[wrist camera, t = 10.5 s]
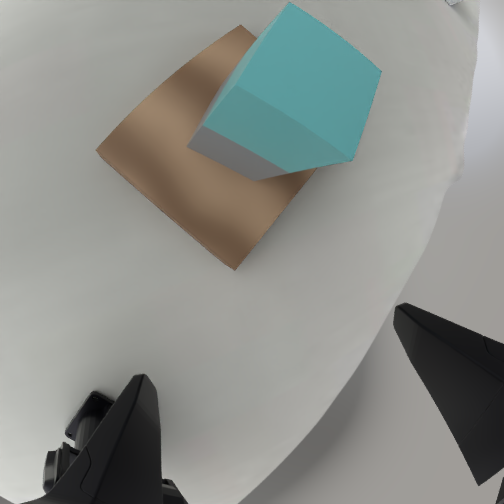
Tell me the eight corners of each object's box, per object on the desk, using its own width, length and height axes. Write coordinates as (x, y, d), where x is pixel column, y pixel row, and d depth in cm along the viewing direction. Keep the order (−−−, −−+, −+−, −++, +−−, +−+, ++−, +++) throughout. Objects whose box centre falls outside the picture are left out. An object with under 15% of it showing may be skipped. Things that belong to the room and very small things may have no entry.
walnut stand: (224, 264, 22) (234, 270, 20) (100, 157, 18) (95, 150, 15) (328, 137, 24) (346, 131, 22) (230, 39, 20) (240, 24, 17)
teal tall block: (253, 181, 19) (352, 160, 10) (186, 146, 17) (235, 84, 8) (282, 120, 19) (381, 71, 10) (220, 85, 18) (289, 1, 8)
